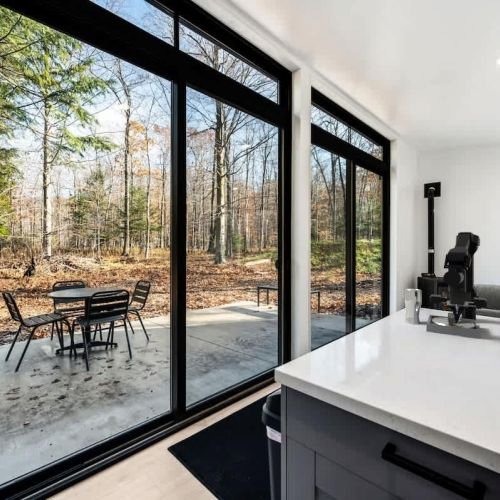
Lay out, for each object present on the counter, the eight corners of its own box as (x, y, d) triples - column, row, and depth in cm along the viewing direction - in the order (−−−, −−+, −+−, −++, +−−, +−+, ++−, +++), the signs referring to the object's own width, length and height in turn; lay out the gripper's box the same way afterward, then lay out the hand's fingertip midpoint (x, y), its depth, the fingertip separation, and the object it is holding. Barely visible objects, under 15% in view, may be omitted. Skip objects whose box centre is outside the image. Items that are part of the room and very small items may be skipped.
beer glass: (405, 323, 142) (406, 290, 142) (402, 320, 149) (403, 288, 149) (422, 325, 140) (423, 291, 140) (419, 321, 147) (419, 288, 147)
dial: (434, 319, 144) (434, 308, 143) (475, 324, 135) (475, 312, 134) (429, 327, 130) (429, 315, 130) (474, 334, 121) (474, 321, 121)
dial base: (429, 321, 146) (429, 314, 145) (477, 327, 136) (478, 319, 136) (426, 331, 131) (426, 323, 130) (480, 338, 121) (480, 329, 121)
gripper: (428, 284, 124) (428, 324, 124) (488, 287, 113) (488, 330, 114) (430, 280, 133) (430, 317, 133) (485, 283, 123) (485, 323, 123)
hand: (457, 322), depth 126 cm, fingers closed
